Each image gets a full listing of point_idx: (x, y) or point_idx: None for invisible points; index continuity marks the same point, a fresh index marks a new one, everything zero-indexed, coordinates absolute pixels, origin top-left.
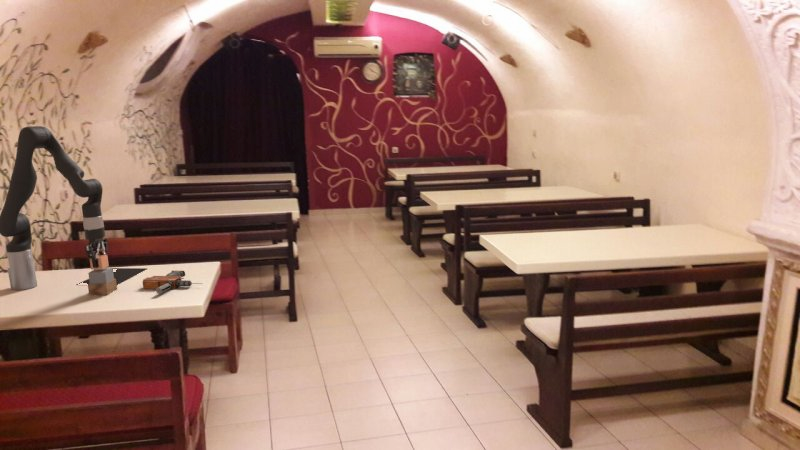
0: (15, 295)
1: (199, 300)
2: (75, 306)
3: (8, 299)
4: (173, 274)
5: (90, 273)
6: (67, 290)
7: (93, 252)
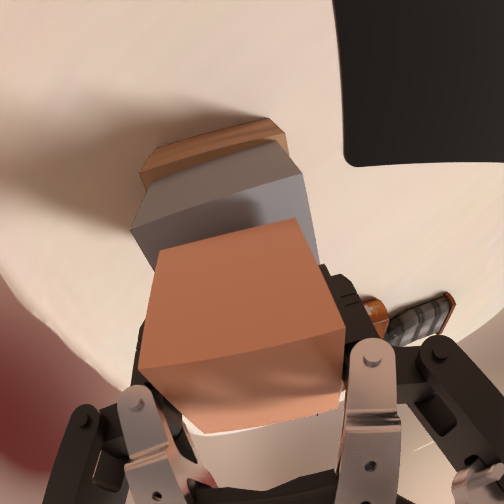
0: None
1: (228, 432)
2: (30, 226)
3: None
4: (406, 341)
5: (140, 243)
6: None
7: (124, 499)
